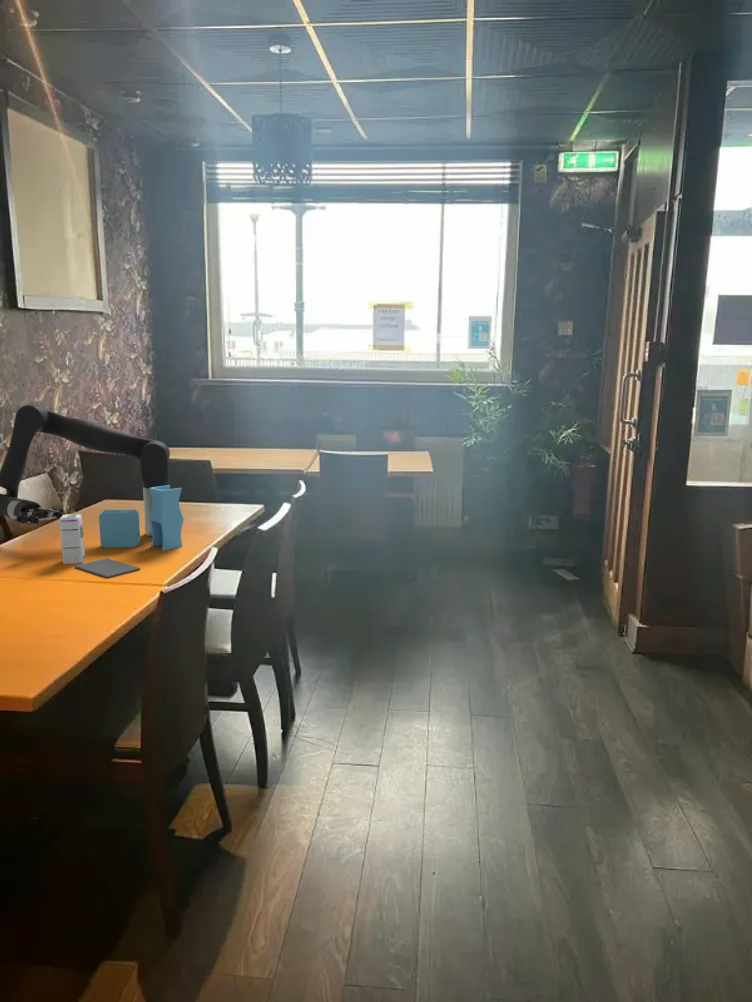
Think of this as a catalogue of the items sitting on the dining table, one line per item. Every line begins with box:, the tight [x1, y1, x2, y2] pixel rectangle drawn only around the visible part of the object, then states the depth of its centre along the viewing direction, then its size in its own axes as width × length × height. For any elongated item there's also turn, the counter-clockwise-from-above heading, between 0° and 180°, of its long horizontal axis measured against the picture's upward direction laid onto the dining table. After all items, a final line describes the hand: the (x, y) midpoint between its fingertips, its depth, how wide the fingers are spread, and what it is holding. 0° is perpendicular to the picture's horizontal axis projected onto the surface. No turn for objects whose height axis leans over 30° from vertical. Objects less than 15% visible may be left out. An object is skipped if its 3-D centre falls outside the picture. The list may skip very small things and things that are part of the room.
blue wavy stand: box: [150, 484, 184, 551], centre depth 245 cm, size 8×8×20 cm
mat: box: [74, 557, 141, 579], centre depth 221 cm, size 17×11×1 cm, turn 53°
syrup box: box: [58, 513, 86, 565], centre depth 227 cm, size 6×6×14 cm
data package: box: [98, 509, 141, 549], centre depth 246 cm, size 12×4×12 cm, turn 96°
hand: (50, 518), depth 233 cm, fingers open, 8 cm apart
